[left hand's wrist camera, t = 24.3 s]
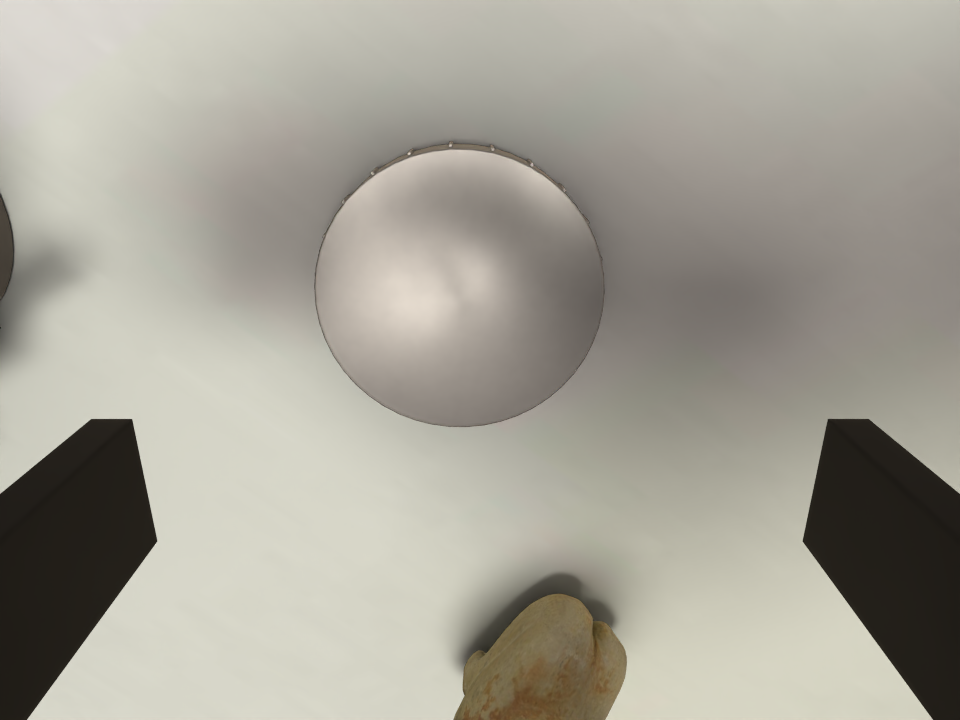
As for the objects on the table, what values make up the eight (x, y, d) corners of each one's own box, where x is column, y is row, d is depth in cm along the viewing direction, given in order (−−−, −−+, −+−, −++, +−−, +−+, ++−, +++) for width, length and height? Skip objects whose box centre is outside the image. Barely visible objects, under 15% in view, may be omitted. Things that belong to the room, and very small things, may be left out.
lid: (344, 109, 21) (334, 112, 20) (632, 178, 22) (645, 184, 20) (306, 379, 25) (295, 400, 23) (556, 428, 26) (562, 450, 24)
